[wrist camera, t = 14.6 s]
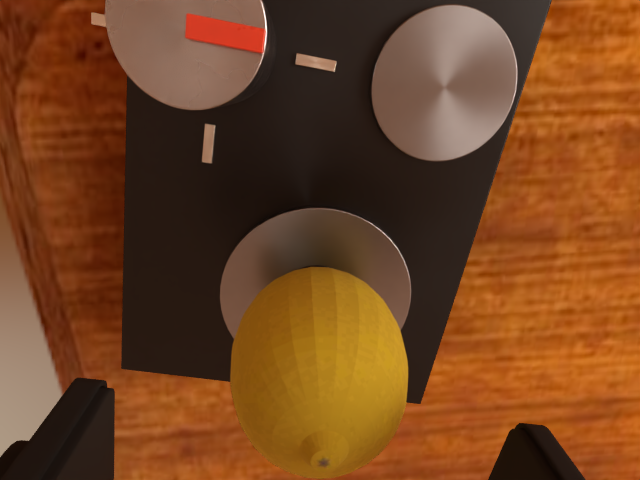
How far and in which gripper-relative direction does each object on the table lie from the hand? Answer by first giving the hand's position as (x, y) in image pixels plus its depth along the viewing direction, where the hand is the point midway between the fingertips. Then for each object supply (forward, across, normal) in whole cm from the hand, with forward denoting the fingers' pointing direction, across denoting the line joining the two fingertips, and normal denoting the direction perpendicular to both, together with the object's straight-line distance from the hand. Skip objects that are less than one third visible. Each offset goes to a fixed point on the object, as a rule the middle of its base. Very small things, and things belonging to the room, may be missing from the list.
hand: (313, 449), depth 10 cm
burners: (+8, -1, -3) cm, 9 cm away
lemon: (+8, 0, 0) cm, 8 cm away
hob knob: (+8, +4, -9) cm, 13 cm away
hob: (+11, 0, -4) cm, 12 cm away
